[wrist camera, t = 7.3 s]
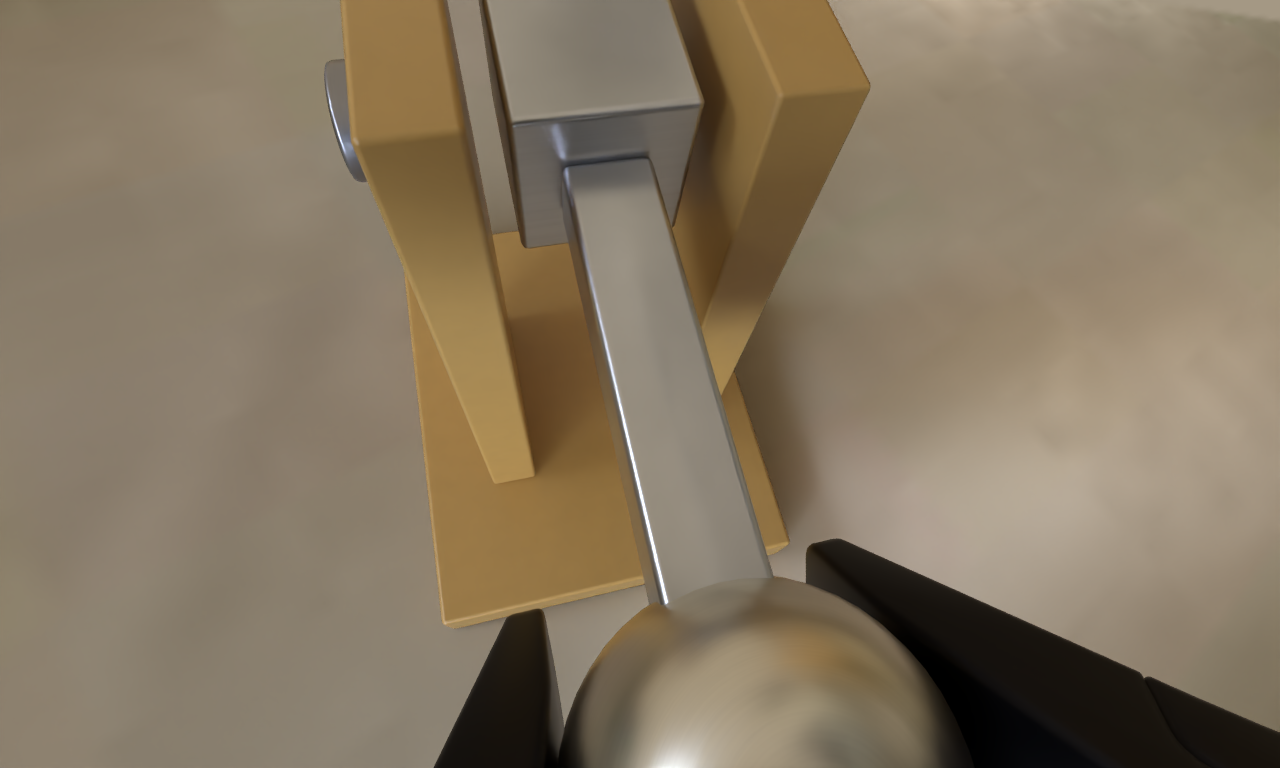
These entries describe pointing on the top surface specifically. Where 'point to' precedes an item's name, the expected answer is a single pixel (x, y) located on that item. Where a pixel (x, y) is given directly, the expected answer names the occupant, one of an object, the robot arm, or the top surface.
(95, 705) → the top surface
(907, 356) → the top surface
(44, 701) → the top surface
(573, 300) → the bracket
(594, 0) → the tap lever
